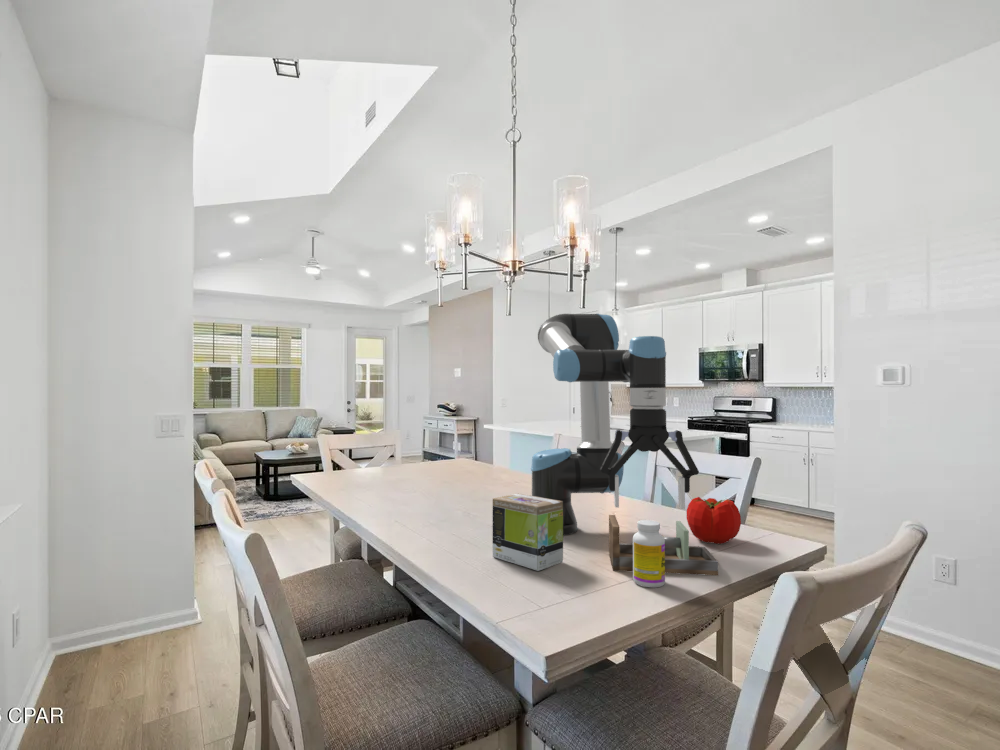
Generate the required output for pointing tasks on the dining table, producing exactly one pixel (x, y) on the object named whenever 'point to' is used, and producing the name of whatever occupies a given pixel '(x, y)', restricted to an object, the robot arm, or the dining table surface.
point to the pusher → (679, 541)
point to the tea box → (528, 530)
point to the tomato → (713, 520)
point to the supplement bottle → (648, 555)
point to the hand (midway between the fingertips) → (648, 507)
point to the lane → (696, 564)
